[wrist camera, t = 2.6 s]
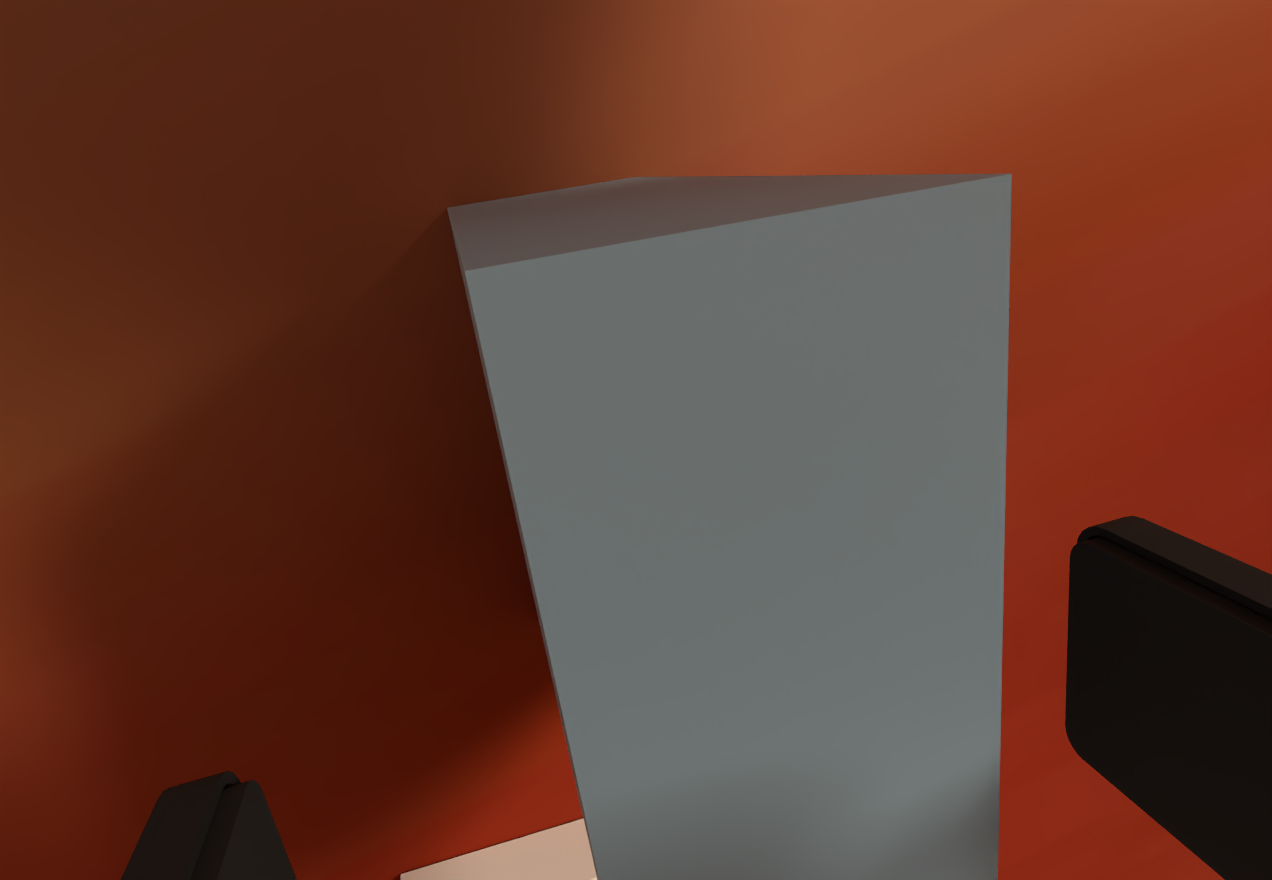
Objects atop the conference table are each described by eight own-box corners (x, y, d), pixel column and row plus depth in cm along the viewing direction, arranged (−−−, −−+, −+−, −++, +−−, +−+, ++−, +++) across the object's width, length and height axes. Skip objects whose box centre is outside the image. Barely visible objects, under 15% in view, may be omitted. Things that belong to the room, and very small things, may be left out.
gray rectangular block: (446, 207, 16) (465, 272, 5) (634, 177, 17) (1011, 174, 6) (538, 619, 20) (668, 1193, 8) (690, 580, 20) (994, 1064, 9)
